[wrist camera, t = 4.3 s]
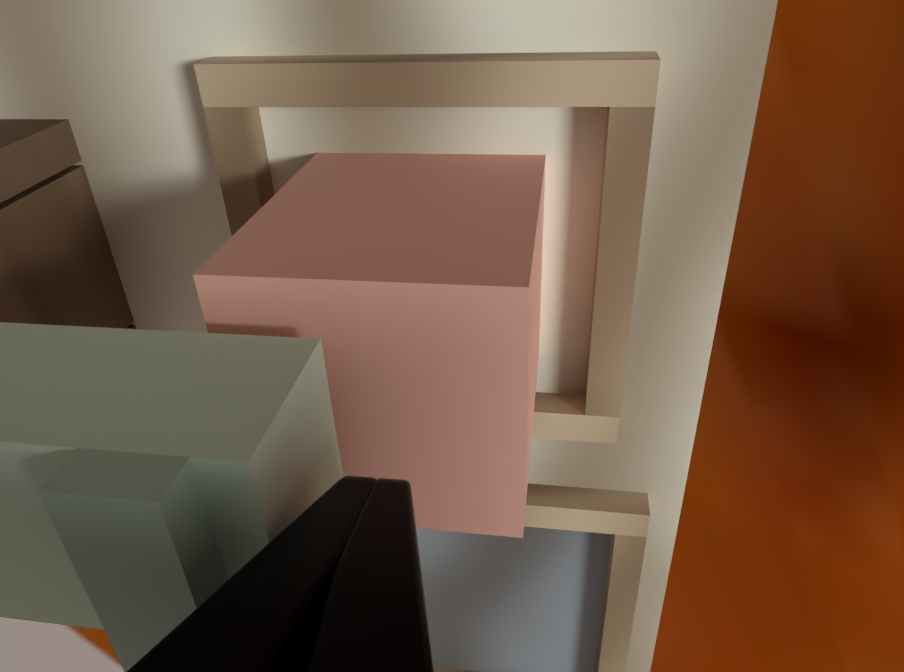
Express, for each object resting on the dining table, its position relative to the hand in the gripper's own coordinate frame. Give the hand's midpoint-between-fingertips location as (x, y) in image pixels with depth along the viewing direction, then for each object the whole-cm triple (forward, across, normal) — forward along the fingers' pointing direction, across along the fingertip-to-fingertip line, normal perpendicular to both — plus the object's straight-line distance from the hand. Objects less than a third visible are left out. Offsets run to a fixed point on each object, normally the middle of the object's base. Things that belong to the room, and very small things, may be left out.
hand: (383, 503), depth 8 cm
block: (+6, 0, 0) cm, 7 cm away
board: (+8, +3, +5) cm, 9 cm away
